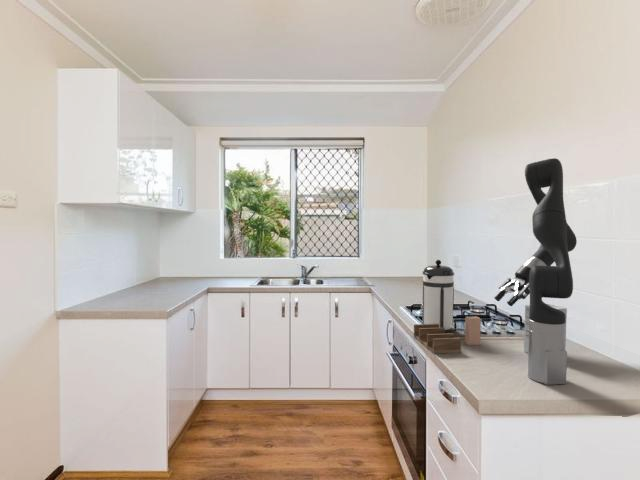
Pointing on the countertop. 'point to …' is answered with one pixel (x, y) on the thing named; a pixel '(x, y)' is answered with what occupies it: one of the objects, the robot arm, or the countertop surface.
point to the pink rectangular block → (472, 330)
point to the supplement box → (526, 332)
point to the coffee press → (438, 295)
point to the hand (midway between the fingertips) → (502, 302)
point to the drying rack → (437, 338)
